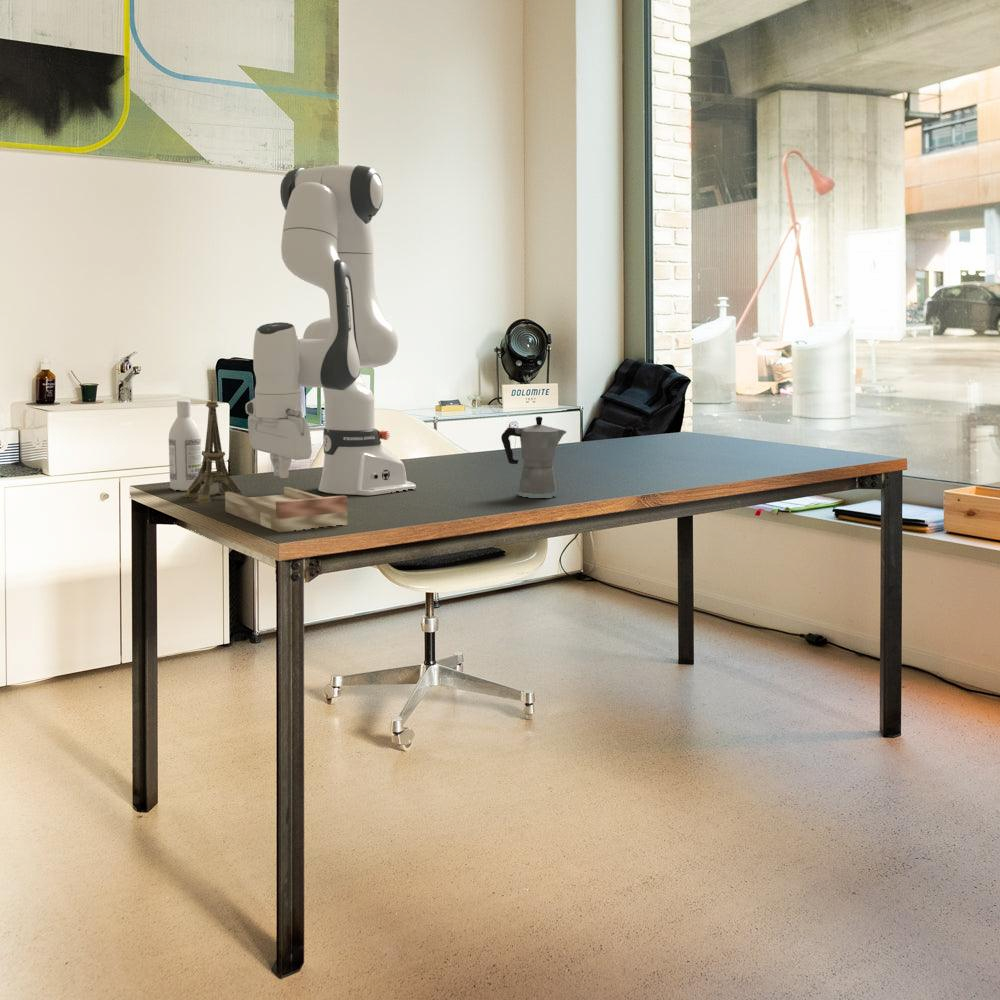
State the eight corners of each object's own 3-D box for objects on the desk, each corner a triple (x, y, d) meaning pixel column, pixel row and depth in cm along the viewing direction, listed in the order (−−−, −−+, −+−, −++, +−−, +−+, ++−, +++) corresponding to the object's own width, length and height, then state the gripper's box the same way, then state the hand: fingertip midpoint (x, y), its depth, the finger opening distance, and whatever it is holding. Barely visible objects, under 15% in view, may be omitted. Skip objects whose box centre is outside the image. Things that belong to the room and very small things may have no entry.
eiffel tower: (198, 503, 229) (195, 384, 225) (182, 496, 237) (179, 381, 233) (246, 499, 235) (244, 383, 231) (229, 492, 243) (226, 380, 239)
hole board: (289, 505, 227) (288, 479, 226) (347, 525, 207) (347, 496, 206) (225, 511, 219) (224, 484, 218) (279, 532, 199) (279, 502, 198)
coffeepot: (556, 491, 253) (558, 414, 251) (572, 498, 245) (574, 418, 242) (493, 493, 249) (495, 415, 246) (507, 500, 240) (508, 418, 237)
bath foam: (206, 487, 250) (203, 400, 247) (196, 491, 243) (194, 402, 240) (176, 486, 250) (173, 399, 247) (165, 491, 243) (163, 401, 240)
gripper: (318, 410, 206) (321, 482, 209) (270, 402, 222) (273, 468, 225) (288, 413, 202) (291, 486, 205) (241, 404, 218) (244, 472, 221)
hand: (281, 477), depth 215 cm, fingers closed
